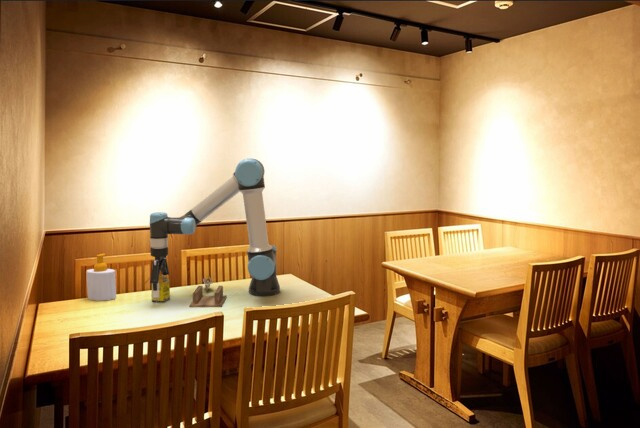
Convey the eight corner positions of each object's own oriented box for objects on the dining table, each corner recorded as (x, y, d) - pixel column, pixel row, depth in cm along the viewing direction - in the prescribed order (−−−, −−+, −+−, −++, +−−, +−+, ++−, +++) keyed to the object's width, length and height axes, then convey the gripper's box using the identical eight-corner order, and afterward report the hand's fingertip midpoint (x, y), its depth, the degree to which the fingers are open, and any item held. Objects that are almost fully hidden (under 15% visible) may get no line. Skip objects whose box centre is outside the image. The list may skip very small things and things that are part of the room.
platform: (217, 285, 241) (217, 272, 240) (223, 294, 224) (222, 281, 224) (193, 287, 237) (193, 274, 236) (197, 297, 220) (197, 283, 220)
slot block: (226, 297, 219) (226, 284, 218) (221, 306, 205) (221, 293, 204) (196, 297, 218) (195, 285, 217) (189, 307, 204) (189, 293, 204)
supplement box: (163, 302, 210) (162, 279, 209) (151, 302, 211) (150, 278, 210) (170, 299, 216) (169, 275, 214) (158, 298, 217) (157, 275, 216)
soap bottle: (120, 296, 219) (118, 253, 217) (109, 301, 211) (107, 257, 209) (94, 295, 221) (92, 252, 219) (83, 300, 213) (80, 256, 211)
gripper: (158, 241, 223) (160, 285, 225) (141, 252, 198) (143, 301, 200) (174, 242, 223) (175, 285, 226) (159, 252, 198) (160, 301, 201)
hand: (160, 293), depth 213 cm, fingers open, 13 cm apart
